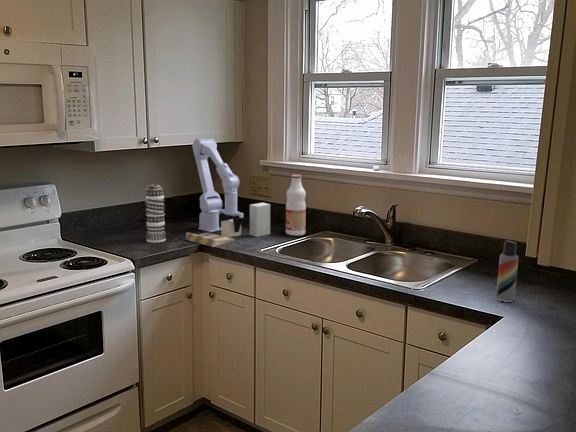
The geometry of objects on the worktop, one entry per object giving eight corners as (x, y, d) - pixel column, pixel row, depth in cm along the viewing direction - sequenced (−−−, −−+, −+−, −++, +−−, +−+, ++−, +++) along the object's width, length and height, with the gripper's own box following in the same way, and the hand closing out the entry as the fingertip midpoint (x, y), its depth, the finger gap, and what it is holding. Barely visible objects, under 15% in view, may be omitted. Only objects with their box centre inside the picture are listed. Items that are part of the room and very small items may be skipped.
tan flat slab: (185, 239, 264) (185, 233, 263) (208, 234, 274) (208, 228, 273) (212, 247, 252) (212, 239, 252) (235, 241, 262) (235, 234, 262)
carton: (221, 236, 273) (220, 221, 271) (233, 233, 279) (233, 218, 277) (228, 237, 270) (228, 223, 268) (241, 234, 275) (241, 220, 274)
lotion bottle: (492, 297, 194) (498, 238, 190) (509, 297, 195) (515, 238, 191) (500, 303, 189) (506, 243, 185) (517, 303, 189) (523, 243, 185)
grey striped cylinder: (170, 240, 262) (169, 185, 257) (151, 243, 257) (149, 187, 251) (161, 236, 269) (159, 182, 264) (142, 239, 263) (140, 184, 258)
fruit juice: (300, 236, 273) (301, 177, 268) (282, 234, 277) (282, 175, 272) (308, 232, 282) (309, 174, 276) (291, 230, 286) (291, 173, 280)
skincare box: (263, 232, 280) (263, 202, 277) (270, 235, 276) (271, 204, 273) (248, 235, 275) (248, 203, 272) (256, 237, 271) (256, 205, 268)
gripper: (214, 201, 273) (214, 229, 275) (235, 205, 263) (235, 234, 266) (225, 199, 278) (225, 227, 281) (246, 203, 268) (246, 232, 271)
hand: (231, 230), depth 274 cm, fingers open, 7 cm apart
